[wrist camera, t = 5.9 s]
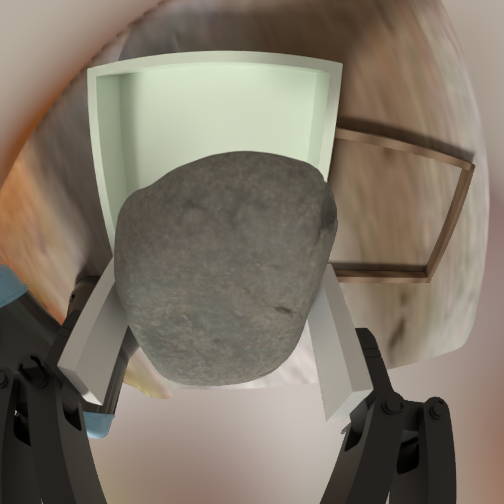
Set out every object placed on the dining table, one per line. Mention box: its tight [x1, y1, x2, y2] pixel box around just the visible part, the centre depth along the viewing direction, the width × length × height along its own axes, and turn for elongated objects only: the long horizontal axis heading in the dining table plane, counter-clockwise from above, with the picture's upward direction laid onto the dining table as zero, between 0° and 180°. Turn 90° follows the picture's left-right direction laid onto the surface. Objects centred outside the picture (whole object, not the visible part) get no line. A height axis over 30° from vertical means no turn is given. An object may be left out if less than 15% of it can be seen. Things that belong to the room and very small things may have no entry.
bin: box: [87, 51, 343, 256], centre depth 25 cm, size 22×21×6 cm
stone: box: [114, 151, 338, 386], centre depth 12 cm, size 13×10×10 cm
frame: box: [327, 127, 475, 283], centre depth 31 cm, size 22×20×2 cm
